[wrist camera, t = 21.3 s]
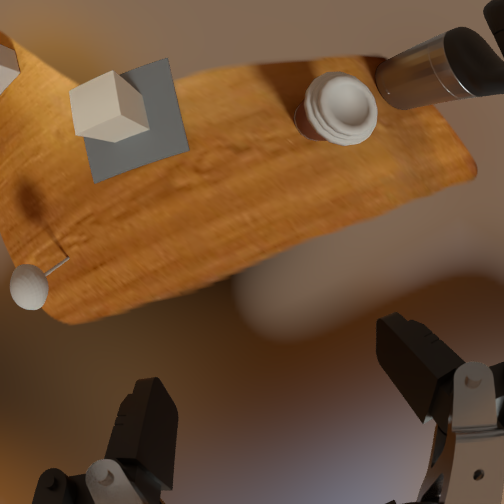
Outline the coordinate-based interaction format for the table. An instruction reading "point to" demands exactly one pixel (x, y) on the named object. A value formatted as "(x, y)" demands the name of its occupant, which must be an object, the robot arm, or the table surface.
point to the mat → (148, 142)
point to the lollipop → (30, 285)
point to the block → (108, 109)
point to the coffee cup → (337, 110)
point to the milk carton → (7, 67)
